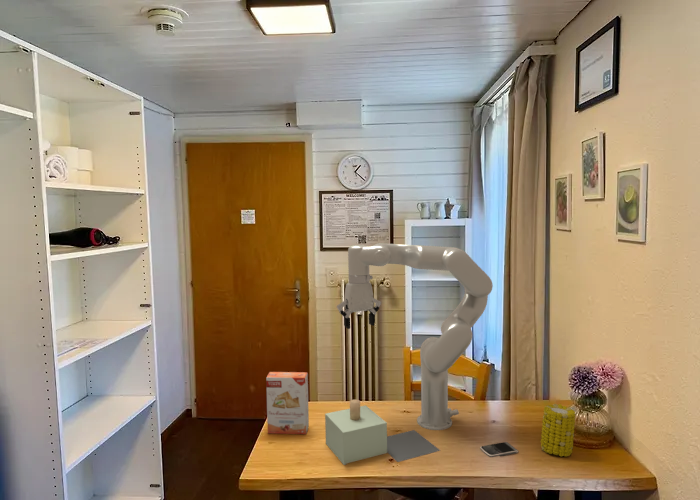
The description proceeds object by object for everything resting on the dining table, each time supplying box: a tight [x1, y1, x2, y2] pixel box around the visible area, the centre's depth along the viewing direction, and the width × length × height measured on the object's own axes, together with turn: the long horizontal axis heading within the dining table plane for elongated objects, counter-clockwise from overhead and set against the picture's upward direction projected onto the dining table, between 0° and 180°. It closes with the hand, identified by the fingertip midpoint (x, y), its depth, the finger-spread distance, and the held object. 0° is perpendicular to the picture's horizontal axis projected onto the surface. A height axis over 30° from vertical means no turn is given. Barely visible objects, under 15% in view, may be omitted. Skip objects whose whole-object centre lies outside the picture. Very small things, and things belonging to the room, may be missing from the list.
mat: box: [386, 429, 441, 463], centre depth 157 cm, size 16×16×1 cm
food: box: [540, 403, 576, 458], centre depth 152 cm, size 15×12×10 cm
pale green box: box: [324, 399, 388, 466], centre depth 156 cm, size 15×15×16 cm
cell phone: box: [479, 441, 519, 458], centre depth 153 cm, size 6×11×1 cm, turn 107°
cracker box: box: [265, 371, 310, 435], centre depth 169 cm, size 14×6×21 cm, turn 86°
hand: (359, 326), depth 172 cm, fingers open, 9 cm apart
